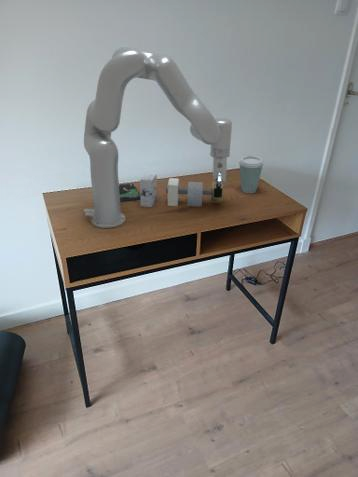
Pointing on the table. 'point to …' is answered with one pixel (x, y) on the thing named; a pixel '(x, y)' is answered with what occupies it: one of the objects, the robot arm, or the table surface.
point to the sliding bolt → (203, 192)
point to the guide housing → (195, 194)
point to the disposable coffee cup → (250, 173)
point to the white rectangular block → (173, 192)
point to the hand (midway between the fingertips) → (217, 192)
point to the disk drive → (128, 193)
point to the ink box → (148, 189)
